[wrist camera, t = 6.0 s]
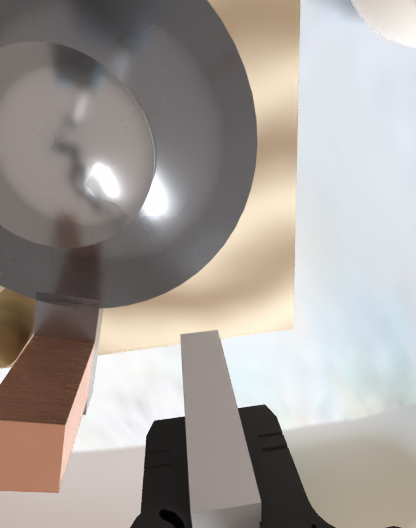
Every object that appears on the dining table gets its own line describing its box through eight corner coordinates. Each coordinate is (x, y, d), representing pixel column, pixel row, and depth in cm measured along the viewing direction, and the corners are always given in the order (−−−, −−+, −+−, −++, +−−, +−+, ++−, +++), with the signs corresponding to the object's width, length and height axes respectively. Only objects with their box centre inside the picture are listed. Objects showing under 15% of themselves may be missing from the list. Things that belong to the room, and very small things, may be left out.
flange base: (-172, -113, 14) (-574, -405, 6) (291, -127, 15) (408, -376, 8) (7, 354, 23) (-70, 460, 15) (285, 317, 24) (337, 398, 17)
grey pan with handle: (-108, -122, 9) (-485, -473, 4) (287, 11, 11) (389, -95, 6) (-69, 375, 15) (-197, 506, 10) (186, 399, 17) (193, 516, 12)
